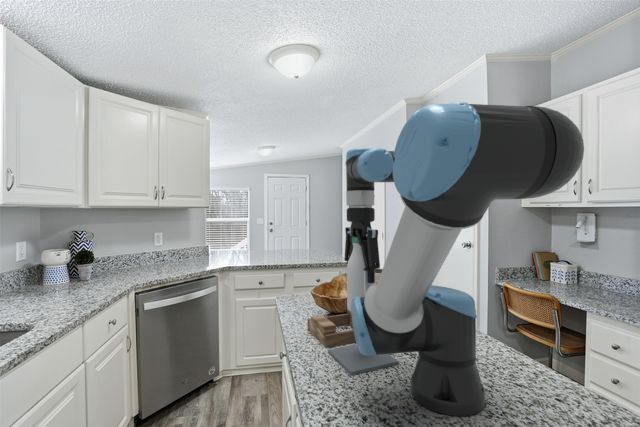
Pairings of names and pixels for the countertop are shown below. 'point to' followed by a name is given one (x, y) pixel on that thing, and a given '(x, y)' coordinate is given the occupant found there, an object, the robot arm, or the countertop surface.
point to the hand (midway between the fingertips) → (361, 291)
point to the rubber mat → (360, 360)
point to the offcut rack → (331, 329)
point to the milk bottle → (355, 273)
